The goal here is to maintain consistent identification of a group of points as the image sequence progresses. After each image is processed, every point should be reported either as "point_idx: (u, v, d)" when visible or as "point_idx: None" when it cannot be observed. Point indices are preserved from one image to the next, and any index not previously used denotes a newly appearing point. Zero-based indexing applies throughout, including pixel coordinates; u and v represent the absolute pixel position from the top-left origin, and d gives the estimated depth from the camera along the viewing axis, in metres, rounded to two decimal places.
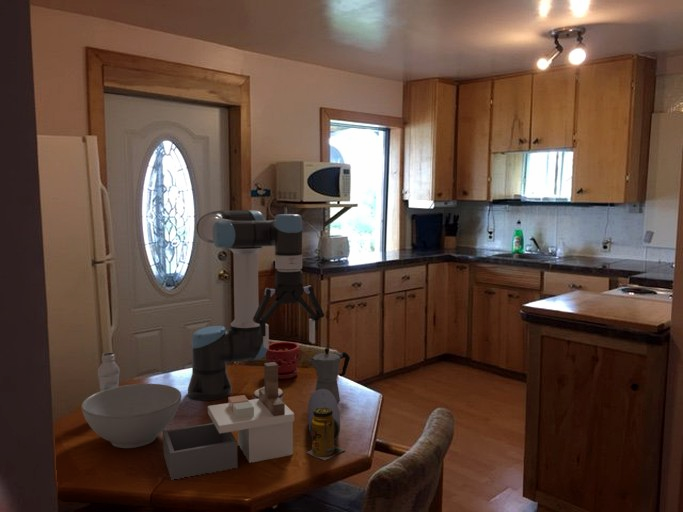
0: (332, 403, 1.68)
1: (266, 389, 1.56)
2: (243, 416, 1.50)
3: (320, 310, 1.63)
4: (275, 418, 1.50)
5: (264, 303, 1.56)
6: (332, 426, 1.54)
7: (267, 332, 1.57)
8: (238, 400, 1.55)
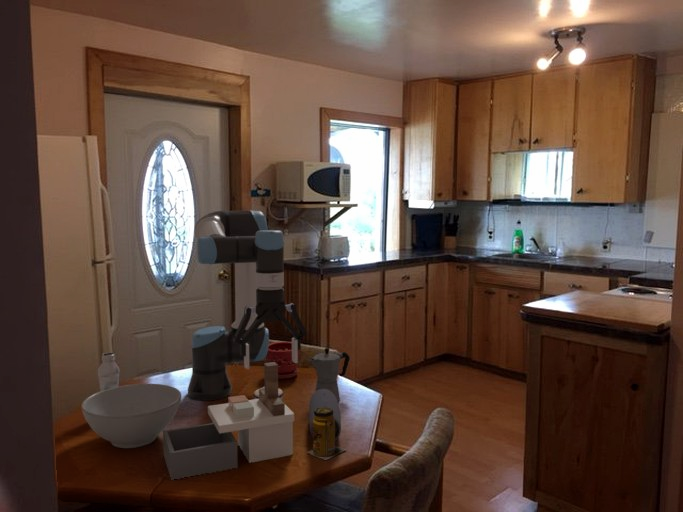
0: (333, 403, 1.68)
1: (266, 389, 1.56)
2: (243, 416, 1.50)
3: (303, 329, 1.58)
4: (275, 418, 1.50)
5: (244, 322, 1.51)
6: (333, 426, 1.54)
7: (247, 352, 1.52)
8: (238, 400, 1.55)
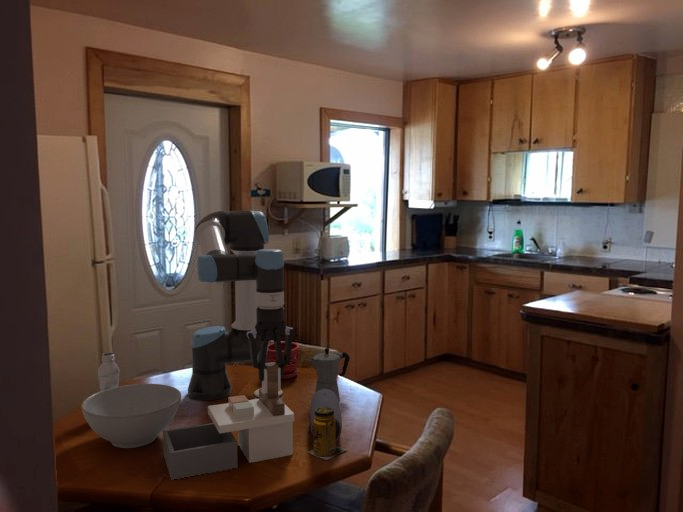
0: (334, 403, 1.68)
1: None
2: (243, 416, 1.50)
3: (289, 356, 1.57)
4: (275, 418, 1.50)
5: (252, 347, 1.53)
6: (333, 426, 1.54)
7: (266, 377, 1.55)
8: (238, 400, 1.55)
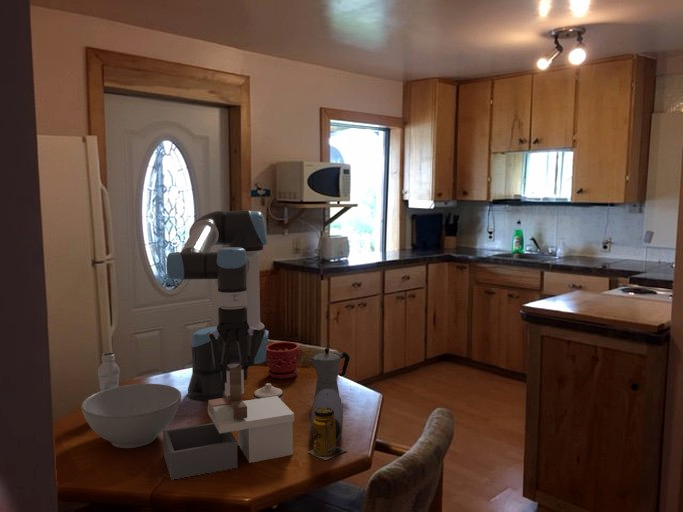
0: (336, 403, 1.68)
1: None
2: (223, 420, 1.47)
3: (252, 357, 1.53)
4: (275, 418, 1.50)
5: (214, 349, 1.48)
6: (333, 426, 1.54)
7: (228, 379, 1.51)
8: (218, 403, 1.53)
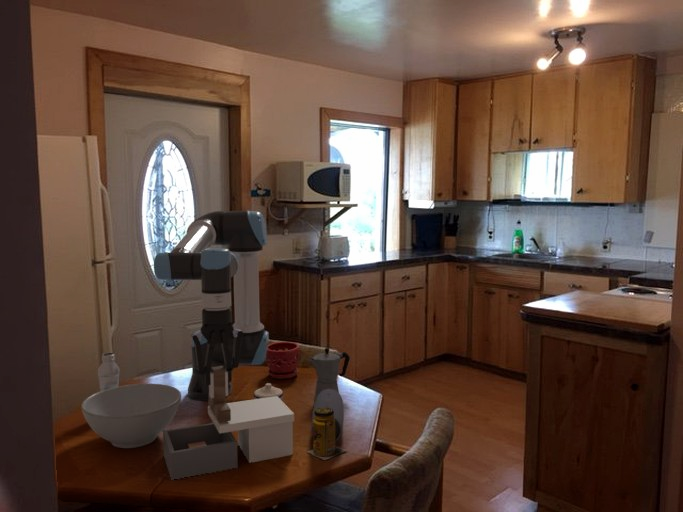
0: (336, 403, 1.68)
1: None
2: None
3: (237, 359, 1.51)
4: (275, 418, 1.50)
5: (197, 350, 1.47)
6: (333, 426, 1.54)
7: (212, 381, 1.49)
8: None
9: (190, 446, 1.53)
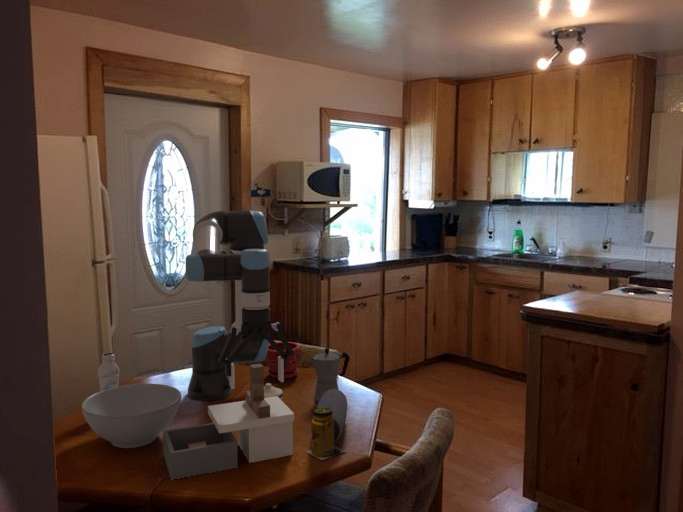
0: (338, 404, 1.68)
1: (252, 391, 1.55)
2: None
3: (289, 348, 1.57)
4: (275, 418, 1.50)
5: (229, 342, 1.50)
6: (331, 426, 1.54)
7: (233, 372, 1.51)
8: None
9: (190, 446, 1.53)
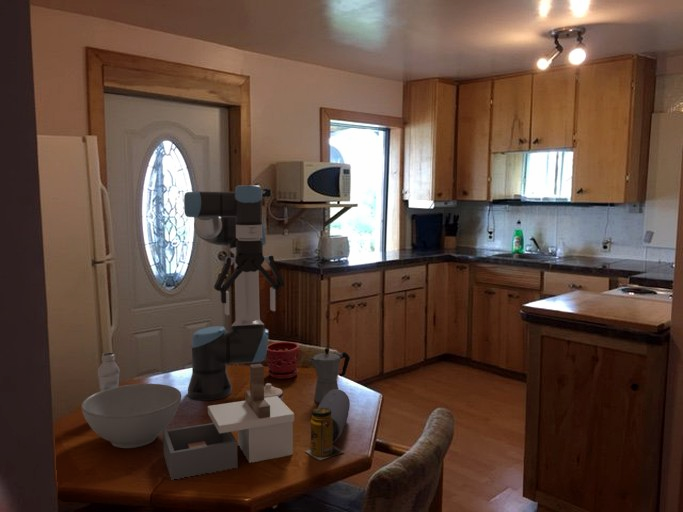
0: (339, 404, 1.67)
1: (252, 391, 1.55)
2: None
3: (280, 279, 1.68)
4: (275, 418, 1.50)
5: (224, 271, 1.61)
6: (329, 427, 1.53)
7: (227, 299, 1.62)
8: None
9: (190, 446, 1.53)
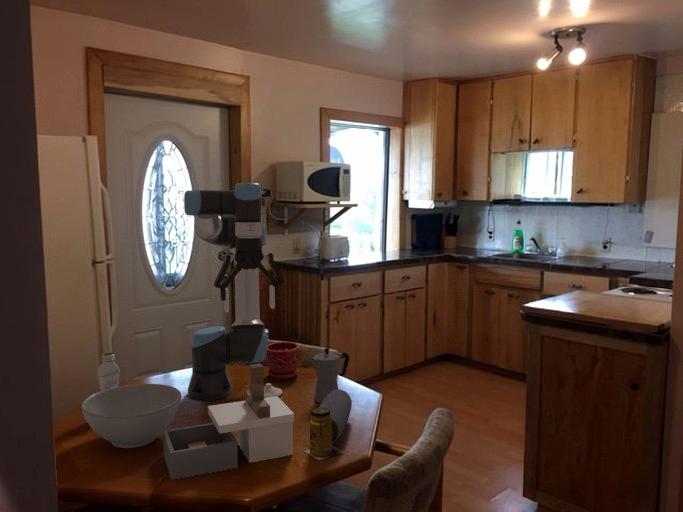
0: (340, 404, 1.67)
1: (252, 391, 1.55)
2: None
3: (280, 276, 1.69)
4: (275, 418, 1.50)
5: (224, 268, 1.62)
6: (328, 427, 1.53)
7: (227, 296, 1.63)
8: None
9: (190, 446, 1.53)
